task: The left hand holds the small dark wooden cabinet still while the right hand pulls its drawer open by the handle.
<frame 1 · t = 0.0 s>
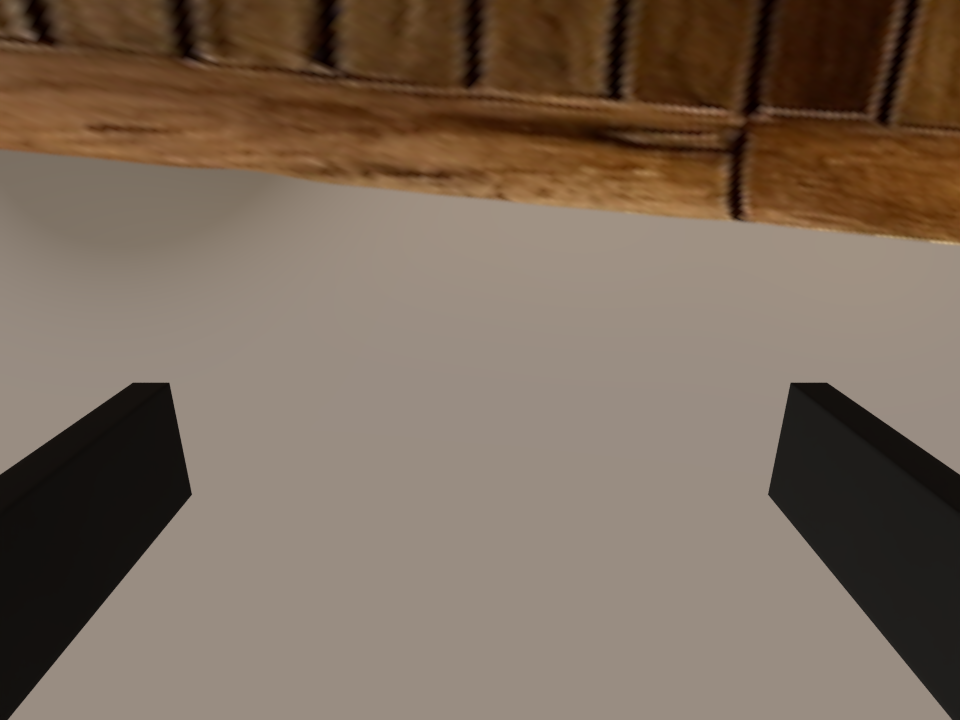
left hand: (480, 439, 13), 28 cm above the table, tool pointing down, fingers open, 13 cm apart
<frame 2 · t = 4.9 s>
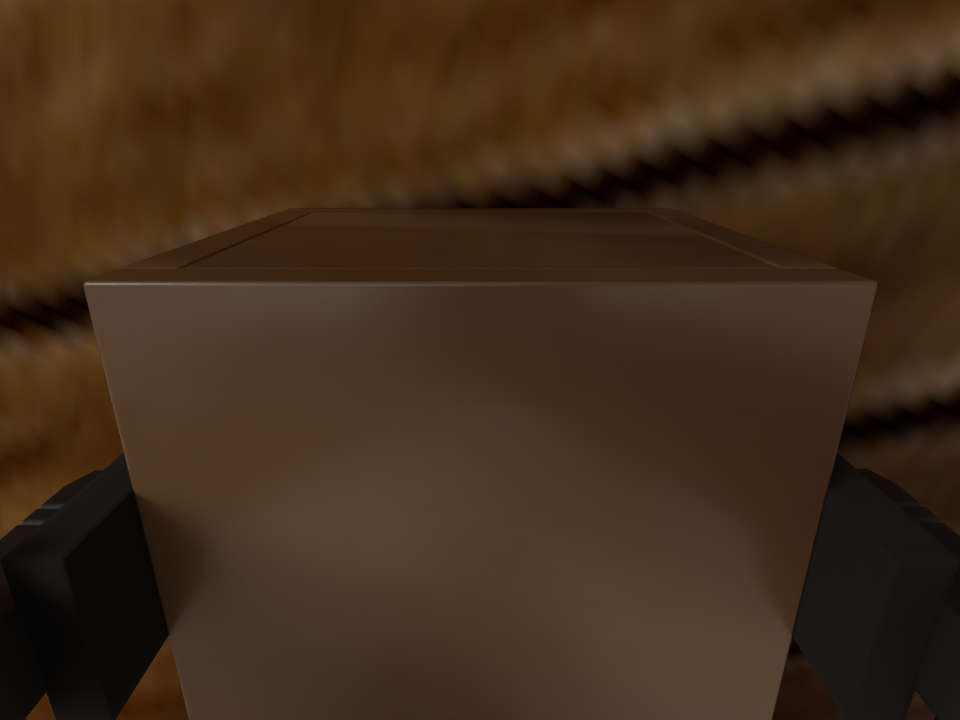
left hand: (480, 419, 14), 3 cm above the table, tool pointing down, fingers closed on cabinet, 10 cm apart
cabinet: (480, 534, 19), on the table, touching left hand
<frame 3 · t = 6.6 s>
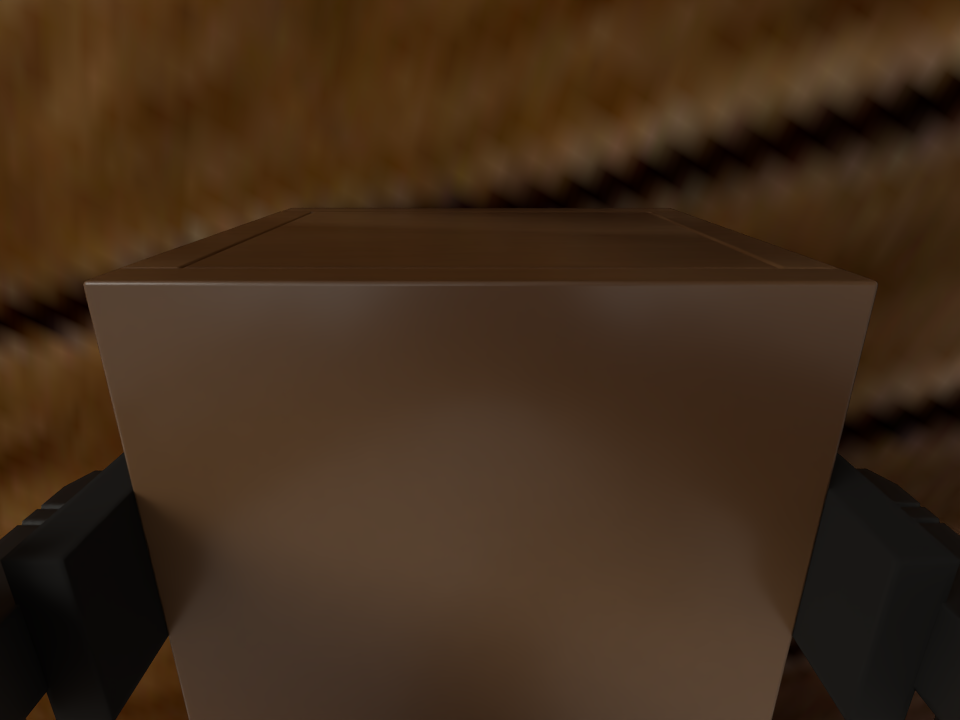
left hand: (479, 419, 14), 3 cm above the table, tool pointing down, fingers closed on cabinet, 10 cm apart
cabinet: (480, 534, 19), on the table, touching left hand
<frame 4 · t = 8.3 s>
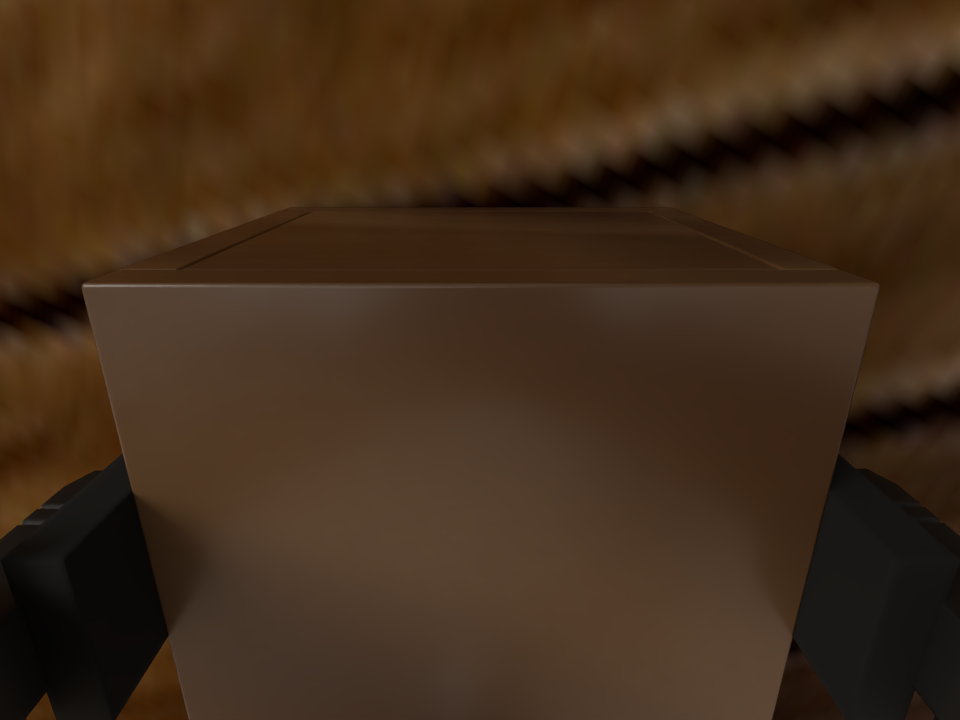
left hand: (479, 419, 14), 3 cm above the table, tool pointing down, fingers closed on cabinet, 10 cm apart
cabinet: (480, 534, 19), on the table, touching left hand
when the left hand's fingers open (3 cm above the table, at t = 9.9 s): cabinet stays where it is, on the table.
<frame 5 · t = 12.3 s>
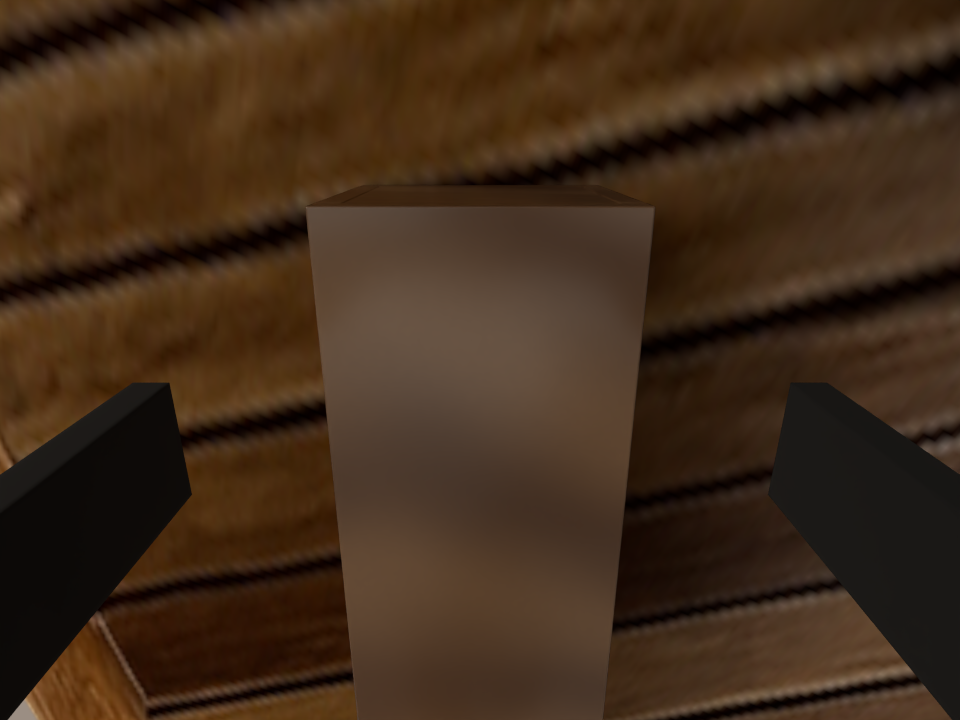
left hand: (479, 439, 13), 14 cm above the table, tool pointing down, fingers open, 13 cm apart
cabinet: (480, 406, 28), on the table
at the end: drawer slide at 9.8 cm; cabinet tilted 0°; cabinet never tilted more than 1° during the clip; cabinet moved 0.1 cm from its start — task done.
